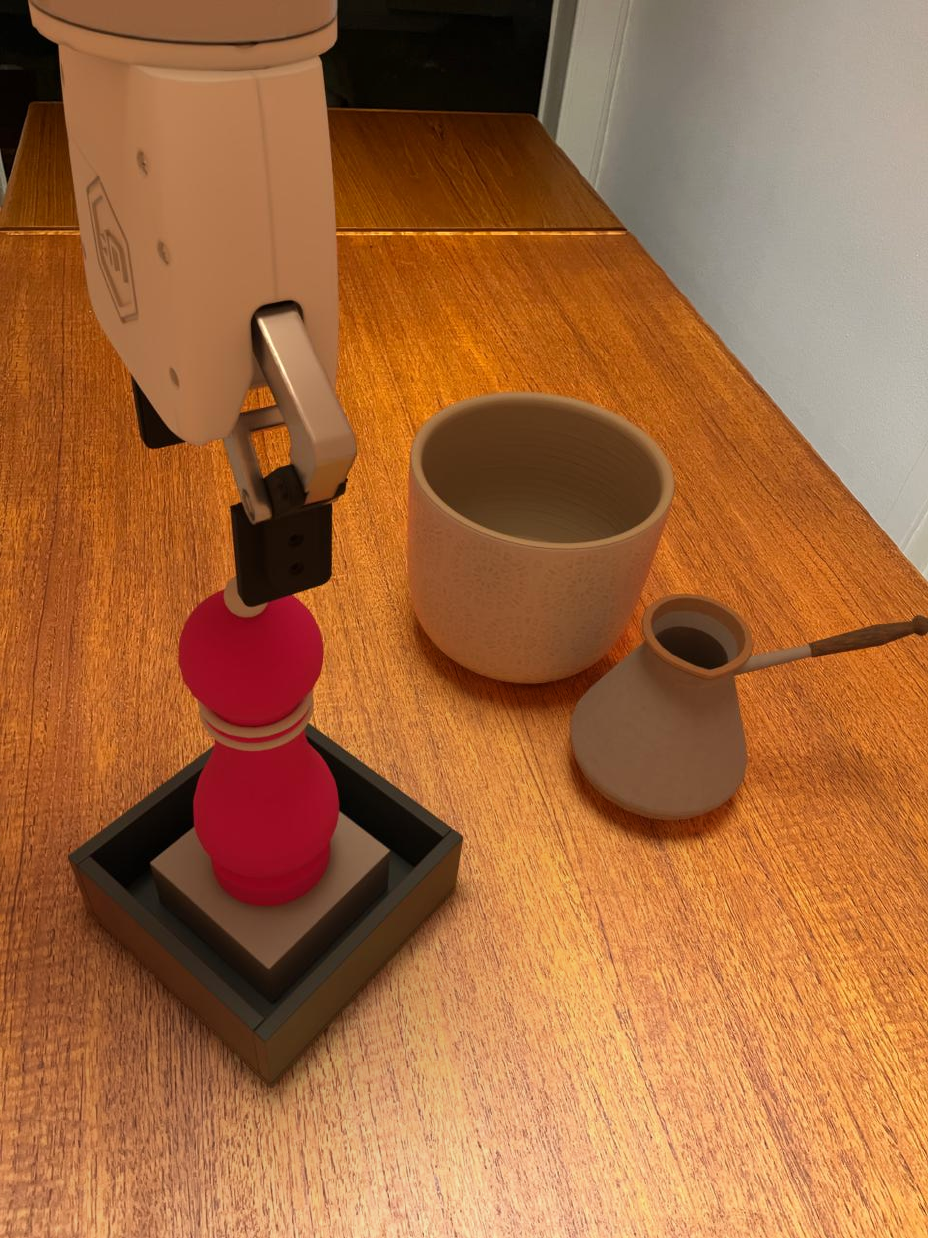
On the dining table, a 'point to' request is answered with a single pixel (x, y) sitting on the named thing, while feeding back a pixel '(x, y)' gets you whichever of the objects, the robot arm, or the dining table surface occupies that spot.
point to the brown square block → (273, 907)
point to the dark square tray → (204, 980)
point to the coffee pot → (685, 707)
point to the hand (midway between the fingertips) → (230, 508)
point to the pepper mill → (259, 746)
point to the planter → (531, 531)
